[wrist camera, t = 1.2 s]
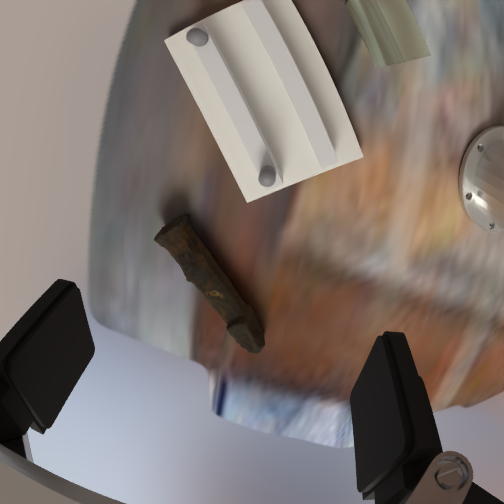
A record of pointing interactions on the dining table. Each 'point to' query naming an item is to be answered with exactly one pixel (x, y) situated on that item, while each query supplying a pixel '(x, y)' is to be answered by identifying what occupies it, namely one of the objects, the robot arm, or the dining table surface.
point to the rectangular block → (388, 30)
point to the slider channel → (265, 95)
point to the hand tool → (211, 282)
